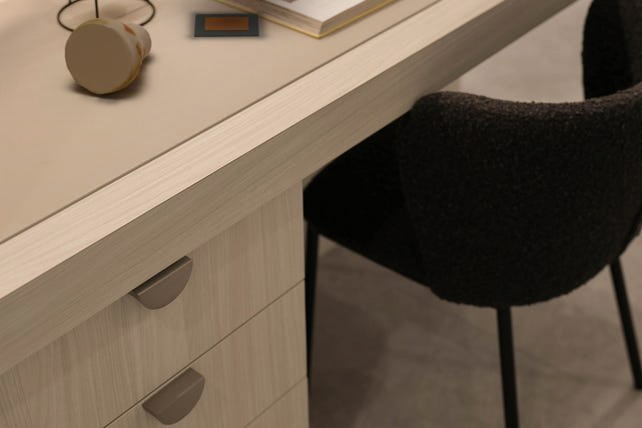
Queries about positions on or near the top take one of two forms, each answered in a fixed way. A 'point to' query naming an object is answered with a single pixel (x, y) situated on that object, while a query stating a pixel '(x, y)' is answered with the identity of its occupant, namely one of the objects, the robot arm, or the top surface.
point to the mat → (226, 25)
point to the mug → (106, 54)
